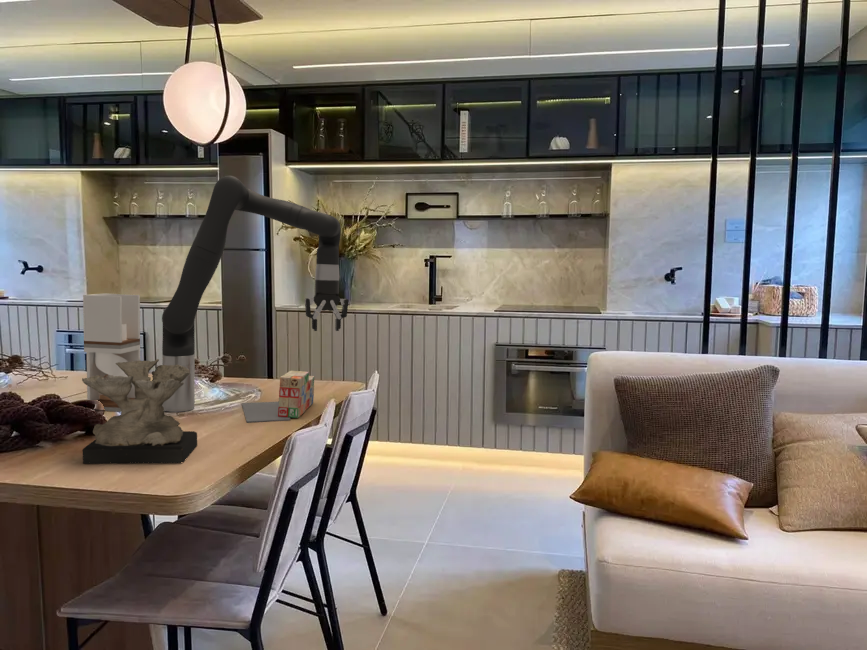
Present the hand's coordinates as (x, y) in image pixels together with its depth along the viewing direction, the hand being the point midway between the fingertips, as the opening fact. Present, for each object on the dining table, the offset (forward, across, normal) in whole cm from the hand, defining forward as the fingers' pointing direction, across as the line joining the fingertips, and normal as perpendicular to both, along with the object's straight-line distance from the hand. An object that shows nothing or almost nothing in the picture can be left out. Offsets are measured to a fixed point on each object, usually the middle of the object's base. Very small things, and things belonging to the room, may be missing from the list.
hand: (326, 330), depth 190 cm
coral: (+26, +51, +32) cm, 66 cm away
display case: (+26, +63, -16) cm, 70 cm away
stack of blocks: (+26, +9, 0) cm, 27 cm away
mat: (+26, +19, 0) cm, 32 cm away
